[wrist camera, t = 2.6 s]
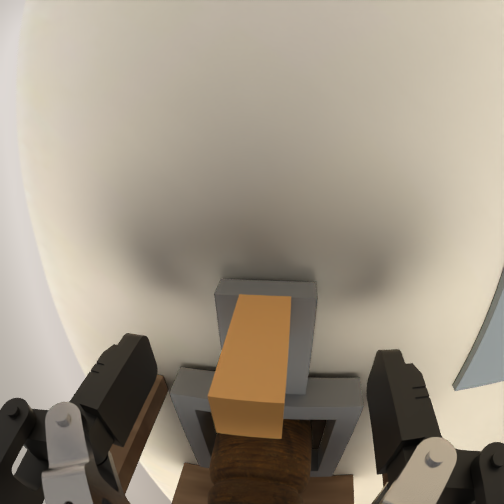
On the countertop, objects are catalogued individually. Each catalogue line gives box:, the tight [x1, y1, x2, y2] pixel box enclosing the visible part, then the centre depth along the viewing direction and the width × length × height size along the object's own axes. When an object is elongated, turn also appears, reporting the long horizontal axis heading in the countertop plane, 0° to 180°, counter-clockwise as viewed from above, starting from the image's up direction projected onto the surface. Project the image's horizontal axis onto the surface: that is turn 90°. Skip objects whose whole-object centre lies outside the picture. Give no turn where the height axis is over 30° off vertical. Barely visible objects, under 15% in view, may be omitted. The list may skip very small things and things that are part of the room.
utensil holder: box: [207, 419, 312, 504], centre depth 12 cm, size 6×6×12 cm
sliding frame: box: [169, 279, 364, 477], centre depth 13 cm, size 16×10×6 cm, turn 2°
